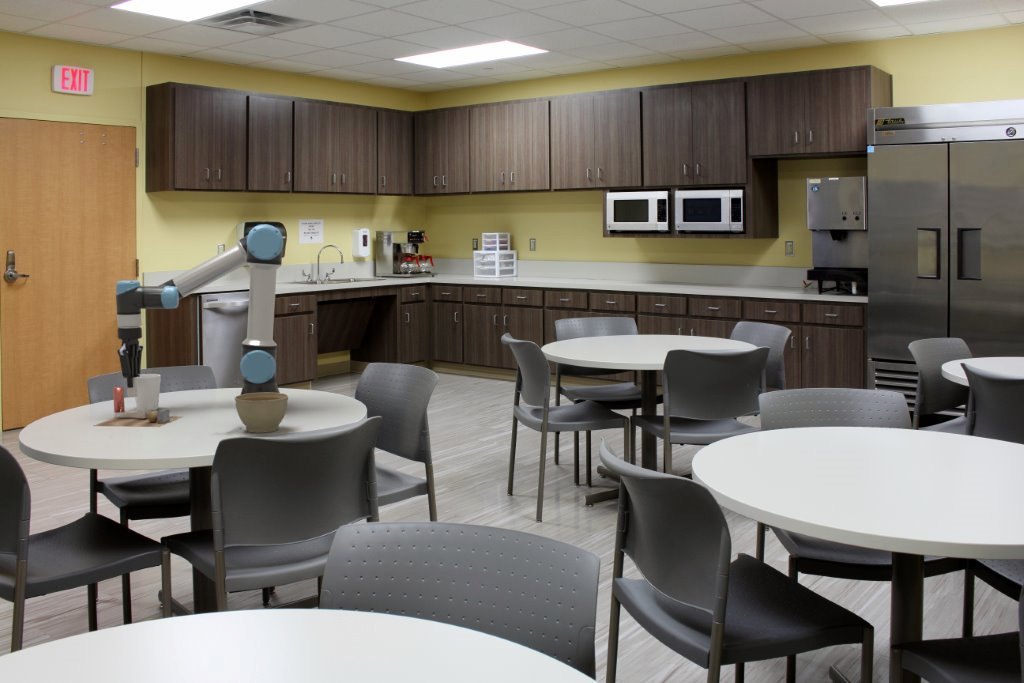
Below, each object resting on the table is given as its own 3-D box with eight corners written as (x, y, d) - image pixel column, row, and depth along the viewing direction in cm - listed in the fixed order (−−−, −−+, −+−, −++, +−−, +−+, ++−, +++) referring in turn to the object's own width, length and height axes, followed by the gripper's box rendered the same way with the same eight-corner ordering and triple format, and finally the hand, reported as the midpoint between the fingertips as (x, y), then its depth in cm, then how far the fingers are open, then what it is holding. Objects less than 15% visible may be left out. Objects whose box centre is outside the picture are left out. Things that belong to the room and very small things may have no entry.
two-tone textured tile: (169, 421, 306) (169, 408, 305) (163, 423, 301) (162, 411, 301) (163, 420, 306) (163, 408, 305) (157, 423, 302) (156, 411, 301)
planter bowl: (261, 437, 286) (260, 402, 285) (225, 432, 295) (223, 397, 294) (300, 428, 300) (298, 394, 299) (263, 423, 308) (262, 390, 307)
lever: (171, 416, 312) (169, 387, 311) (164, 419, 307) (162, 389, 306) (119, 415, 314) (117, 386, 313) (111, 418, 309) (109, 388, 308)
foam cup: (168, 411, 330) (166, 375, 329) (147, 416, 322) (146, 378, 321) (148, 409, 334) (146, 373, 333) (127, 414, 326) (125, 377, 325)
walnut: (161, 421, 306) (160, 410, 305) (155, 423, 302) (155, 412, 302) (150, 421, 306) (150, 410, 306) (145, 423, 302) (144, 412, 302)
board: (183, 421, 313) (183, 406, 313) (159, 431, 297) (158, 416, 296) (120, 420, 316) (119, 405, 315) (92, 430, 299) (92, 415, 298)
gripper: (128, 325, 322) (131, 393, 325) (108, 328, 309) (111, 399, 312) (149, 325, 322) (152, 393, 324) (130, 328, 309) (133, 400, 311)
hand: (132, 396), depth 318 cm, fingers closed
